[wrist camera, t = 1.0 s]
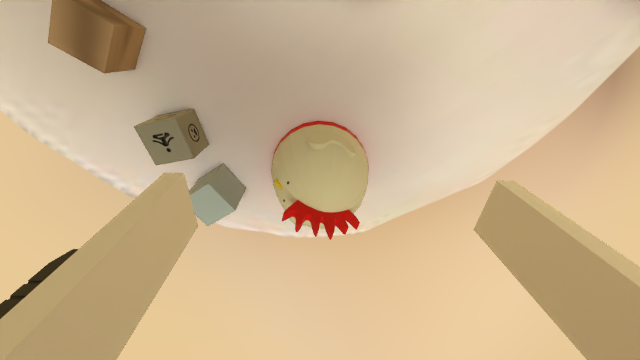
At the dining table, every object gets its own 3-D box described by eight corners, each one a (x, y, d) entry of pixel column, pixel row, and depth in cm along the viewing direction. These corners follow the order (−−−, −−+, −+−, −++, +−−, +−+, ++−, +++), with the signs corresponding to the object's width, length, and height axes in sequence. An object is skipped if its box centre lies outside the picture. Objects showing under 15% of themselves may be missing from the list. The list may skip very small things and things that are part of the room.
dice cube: (194, 108, 32) (175, 118, 27) (209, 143, 34) (194, 158, 30) (158, 115, 32) (133, 126, 28) (175, 150, 34) (155, 165, 30)
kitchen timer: (282, 109, 32) (262, 153, 19) (378, 133, 34) (420, 188, 21) (267, 195, 38) (244, 272, 25) (348, 211, 40) (366, 290, 27)
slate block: (199, 179, 37) (180, 201, 31) (223, 163, 35) (208, 183, 30) (221, 202, 39) (207, 226, 34) (245, 187, 38) (235, 210, 32)
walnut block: (89, 43, 28) (48, 42, 23) (97, -2, 26) (53, -12, 21) (135, 69, 29) (104, 73, 25) (146, 28, 27) (114, 25, 23)
